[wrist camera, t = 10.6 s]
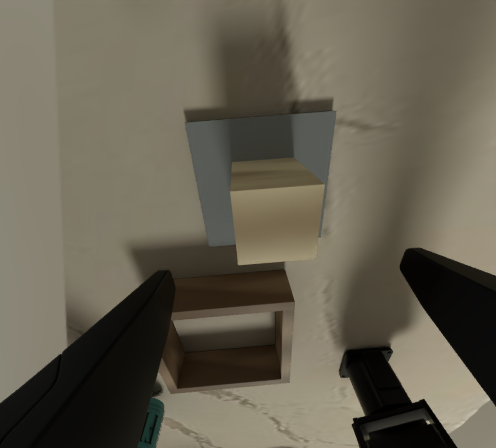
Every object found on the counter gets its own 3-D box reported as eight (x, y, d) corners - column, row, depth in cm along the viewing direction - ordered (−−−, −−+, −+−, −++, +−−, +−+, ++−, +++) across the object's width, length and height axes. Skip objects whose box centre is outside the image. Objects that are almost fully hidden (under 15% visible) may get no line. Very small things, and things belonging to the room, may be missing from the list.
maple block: (291, 212, 17) (315, 258, 12) (237, 217, 17) (238, 265, 12) (293, 157, 15) (324, 184, 10) (231, 162, 15) (230, 191, 10)
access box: (282, 348, 28) (289, 382, 25) (178, 358, 28) (170, 393, 24) (284, 269, 21) (294, 301, 18) (146, 281, 21) (129, 316, 17)
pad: (318, 233, 19) (320, 237, 19) (210, 243, 19) (209, 246, 19) (332, 110, 14) (336, 110, 14) (186, 122, 14) (185, 122, 14)
